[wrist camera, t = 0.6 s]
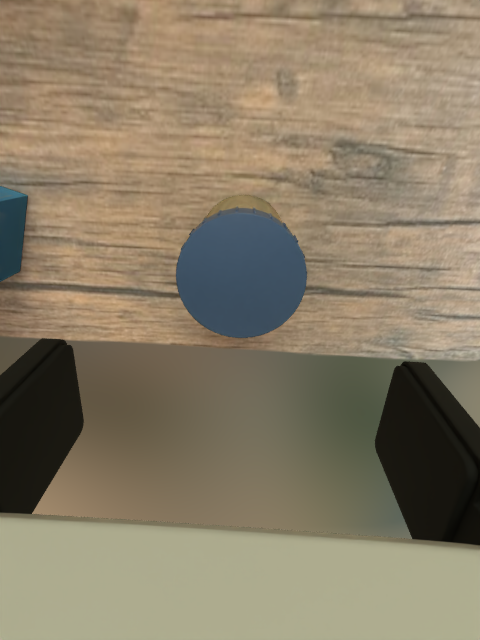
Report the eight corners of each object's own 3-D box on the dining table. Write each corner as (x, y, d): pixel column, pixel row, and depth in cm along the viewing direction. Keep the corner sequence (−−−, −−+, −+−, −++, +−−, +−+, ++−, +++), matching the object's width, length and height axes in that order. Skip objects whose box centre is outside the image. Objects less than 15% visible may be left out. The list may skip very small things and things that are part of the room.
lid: (310, 210, 20) (317, 216, 18) (294, 328, 23) (298, 342, 21) (180, 202, 20) (173, 207, 18) (181, 320, 23) (175, 335, 21)
